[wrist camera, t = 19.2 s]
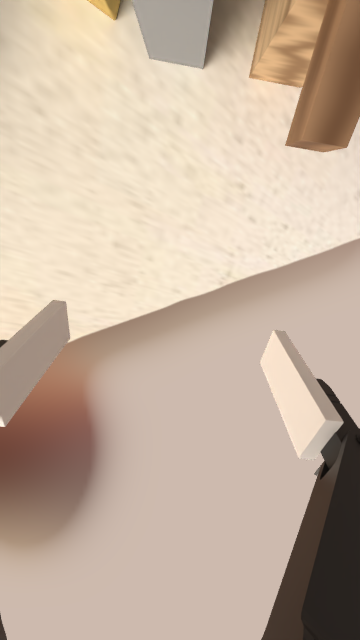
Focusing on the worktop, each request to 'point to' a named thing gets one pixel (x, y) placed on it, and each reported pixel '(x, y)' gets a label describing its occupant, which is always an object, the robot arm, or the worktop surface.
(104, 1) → the cheese
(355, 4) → the walnut block
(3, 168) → the worktop surface
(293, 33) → the oak block
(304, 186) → the worktop surface
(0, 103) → the worktop surface
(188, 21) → the slate-grey stand
